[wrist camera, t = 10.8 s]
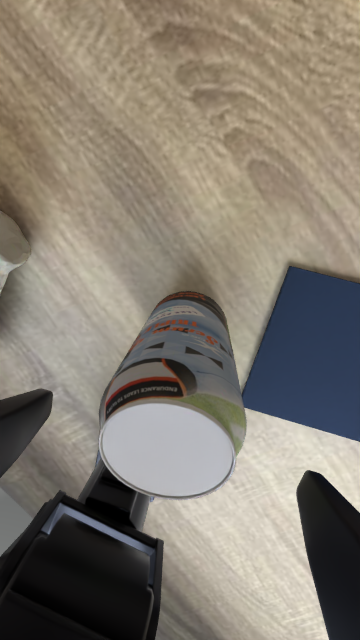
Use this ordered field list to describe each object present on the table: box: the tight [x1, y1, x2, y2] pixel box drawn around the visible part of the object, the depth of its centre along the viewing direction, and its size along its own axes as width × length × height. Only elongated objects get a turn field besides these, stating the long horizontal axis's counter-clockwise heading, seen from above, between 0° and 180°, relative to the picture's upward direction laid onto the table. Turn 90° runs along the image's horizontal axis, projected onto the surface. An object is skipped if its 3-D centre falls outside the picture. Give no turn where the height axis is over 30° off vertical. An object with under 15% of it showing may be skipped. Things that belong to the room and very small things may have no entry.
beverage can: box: [99, 291, 247, 500], centre depth 13 cm, size 6×7×12 cm
